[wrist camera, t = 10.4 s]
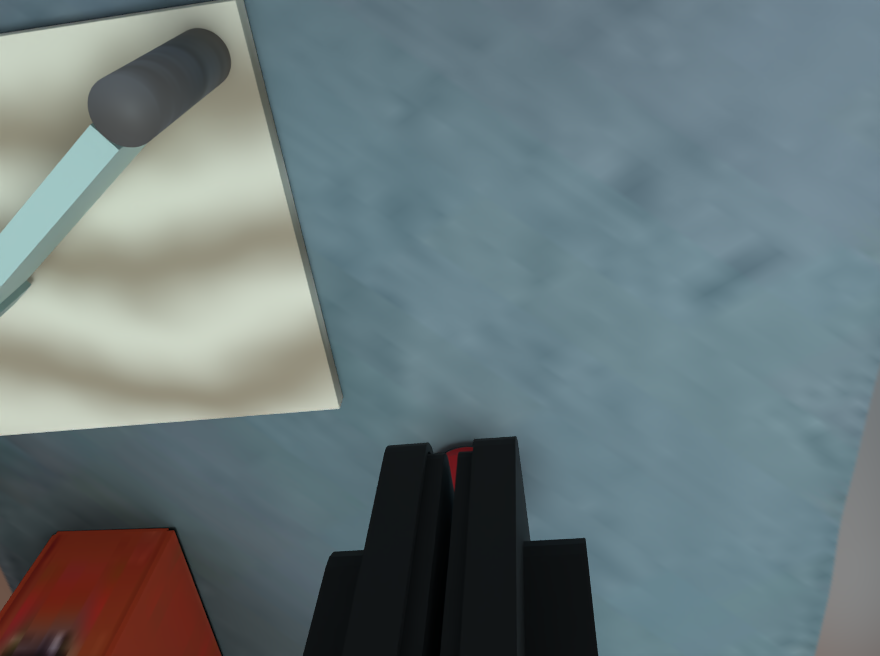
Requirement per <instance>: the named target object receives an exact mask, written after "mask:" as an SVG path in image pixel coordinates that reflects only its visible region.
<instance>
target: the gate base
mask: <svg viewBox="0 0 880 656" xmlns="http://www.w3.org/2000/svg"><path fill="white" fill-rule="evenodd" d="M92 123H93V124H94V126H95V127H96V129H97V130H98V131H99V132H100V133H101V134H102V135H103V136H104V137H105V138H106V139H108V140H109V141H111V142H113V143H115V144H117V145H120V146H123V147H139V146H142V145H145V144H146V145H145V146H144V148H143V149H142V150H141V151H140V152H139V153H138V154H137V156H136V157H135V158H134V159H133V160H132V161H131V162H130V163H129V165H128V166H127V167H126V168H125V169H124V170H123V171H122V173H121V174H120V175H119V176H118V177H117V178H116V179H115V181H114V182H113V183H112V184H111V185H110V186H109V187H108V188H107V190H106V191H105V192H104V193H103V194H102V195H101V196H100V198H99V199H98V200H97V201H96V202H95V203H94V204H93V205H92V207H91V208H90V209H89V210H88V211H87V212H86V213H85V215H84V216H83V217H82V218H81V219H80V220H79V221H78V223H77V224H76V225H75V226H74V227H73V228H72V229H71V230H70V232H69V233H68V234H67V235H66V236H65V237H64V238H63V240H62V241H61V242H60V243H59V244H58V245H57V246H56V248H55V249H54V250H53V251H52V252H51V253H50V254H49V255H48V257H47V258H46V259H45V260H44V261H43V262H42V263H41V265H40V266H39V267H38V268H37V269H36V270H35V271H34V272H33V274H32V275H31V276H30V277H29V278H28V279H27V281H28V282H29V283H31V284H32V285H31V286H30V287H29V288H28V289H27V291H26V292H25V293H24V294H23V295H22V296H21V297H20V298H19V300H18V301H17V302H16V303H15V304H14V305H13V306H12V307H11V308H10V309H9V310H7V311H6V312H5V313H4V314H3V315H2V316H1V317H0V436H1V435H14V434H27V433H39V432H52V431H64V430H77V429H89V428H102V427H115V426H127V425H140V424H152V423H165V422H178V421H190V420H203V419H215V418H228V417H241V416H253V415H266V414H278V413H291V412H304V411H316V410H329V409H340V406H341V402H342V399H343V395H342V391H341V387H340V383H339V379H338V375H337V371H336V367H335V363H334V359H333V356H332V352H331V348H330V344H329V340H328V336H327V332H326V328H325V324H324V320H323V316H322V312H321V308H320V304H319V300H318V296H317V292H316V288H315V284H314V280H313V276H312V272H311V268H310V264H309V260H308V256H307V252H306V248H305V244H304V240H303V236H302V232H301V228H300V224H299V220H298V216H297V212H296V208H295V204H294V200H293V196H292V192H291V188H290V184H289V180H288V176H287V172H286V168H285V164H284V160H283V156H282V152H281V148H280V144H279V140H278V136H277V132H276V128H275V124H274V120H273V116H272V112H271V108H270V104H269V100H268V96H267V92H266V88H265V84H264V80H263V76H262V72H261V68H260V64H259V60H258V56H257V52H256V48H255V44H254V40H253V36H252V32H251V28H250V24H249V20H248V16H247V12H246V8H245V4H244V0H216V1H210V2H203V3H197V4H190V5H184V6H177V7H171V8H164V9H158V10H151V11H145V12H138V13H132V14H125V15H119V16H112V17H106V18H99V19H93V20H86V21H80V22H73V23H67V24H60V25H54V26H47V27H41V28H34V29H28V30H21V31H14V32H8V33H1V34H0V233H1V232H2V231H3V229H4V228H5V227H6V226H7V225H8V223H9V222H10V221H11V220H12V219H13V217H14V216H15V215H16V214H17V212H18V211H19V210H20V209H21V208H22V206H23V205H24V204H25V203H26V202H27V200H28V199H29V198H30V197H31V196H32V194H33V193H34V192H35V191H36V190H37V188H38V187H39V186H40V185H41V184H42V182H43V181H44V180H45V179H46V177H47V176H48V175H49V174H50V173H51V171H52V170H53V169H54V168H55V167H56V165H57V164H58V163H59V162H60V161H61V159H62V158H63V157H64V156H65V155H66V153H67V152H68V151H69V150H70V148H71V147H72V146H73V145H74V144H75V142H76V141H77V140H78V139H79V138H80V136H81V135H82V134H83V133H84V132H85V130H86V129H87V128H88V127H89V126H90V124H92Z"/></svg>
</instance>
